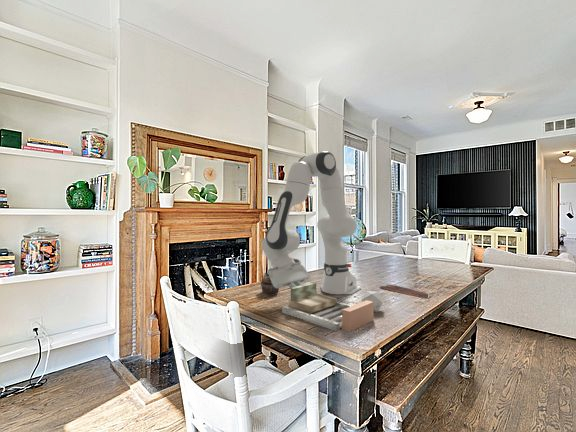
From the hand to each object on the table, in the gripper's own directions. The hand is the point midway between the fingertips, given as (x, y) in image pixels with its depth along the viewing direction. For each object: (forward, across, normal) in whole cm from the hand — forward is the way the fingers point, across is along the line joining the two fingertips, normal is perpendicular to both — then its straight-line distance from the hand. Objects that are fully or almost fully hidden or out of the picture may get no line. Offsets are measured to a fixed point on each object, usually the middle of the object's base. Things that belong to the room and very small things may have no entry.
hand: (299, 291), depth 136 cm
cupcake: (-13, +6, +22) cm, 27 cm away
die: (+22, +18, -13) cm, 31 cm away
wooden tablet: (+20, +57, -10) cm, 61 cm away
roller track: (+15, 0, -6) cm, 16 cm away
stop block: (+25, 0, -16) cm, 30 cm away
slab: (+8, 0, -3) cm, 9 cm away
